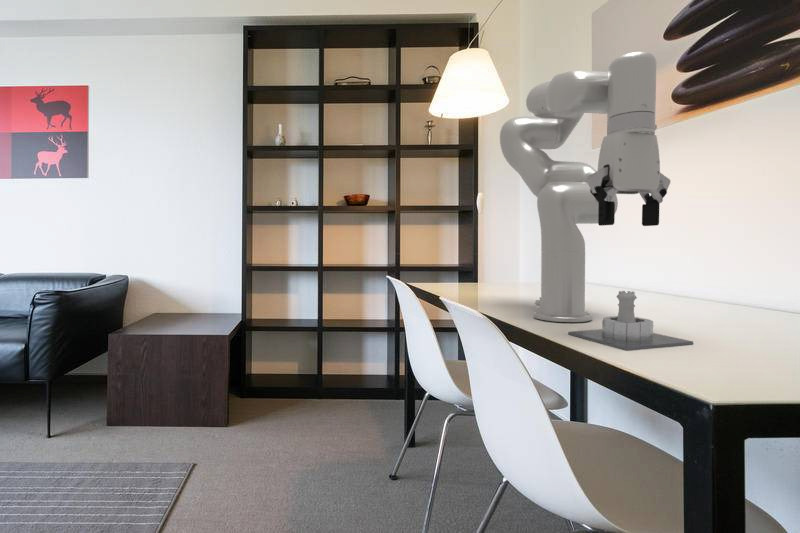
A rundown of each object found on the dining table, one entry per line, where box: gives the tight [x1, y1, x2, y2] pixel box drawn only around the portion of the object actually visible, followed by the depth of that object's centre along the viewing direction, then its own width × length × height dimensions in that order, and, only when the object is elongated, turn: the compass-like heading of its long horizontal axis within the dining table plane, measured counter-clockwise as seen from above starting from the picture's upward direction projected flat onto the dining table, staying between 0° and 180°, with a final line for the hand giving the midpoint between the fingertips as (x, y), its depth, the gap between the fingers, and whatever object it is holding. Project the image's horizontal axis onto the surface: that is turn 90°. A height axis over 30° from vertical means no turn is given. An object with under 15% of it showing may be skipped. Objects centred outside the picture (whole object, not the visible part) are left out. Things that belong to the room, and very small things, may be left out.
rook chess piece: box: [616, 290, 638, 322], centre depth 77 cm, size 4×4×8 cm
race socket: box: [567, 315, 694, 351], centre depth 77 cm, size 14×14×4 cm
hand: (628, 225), depth 77 cm, fingers open, 9 cm apart
